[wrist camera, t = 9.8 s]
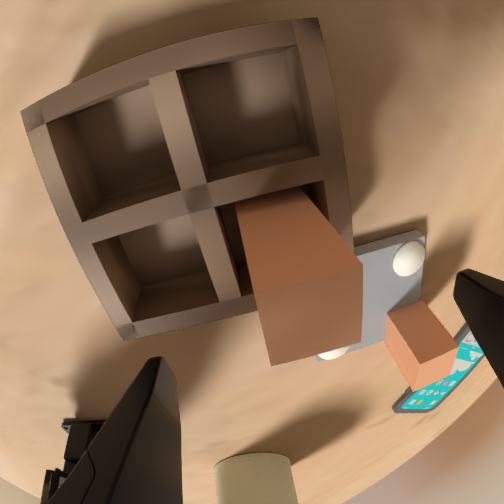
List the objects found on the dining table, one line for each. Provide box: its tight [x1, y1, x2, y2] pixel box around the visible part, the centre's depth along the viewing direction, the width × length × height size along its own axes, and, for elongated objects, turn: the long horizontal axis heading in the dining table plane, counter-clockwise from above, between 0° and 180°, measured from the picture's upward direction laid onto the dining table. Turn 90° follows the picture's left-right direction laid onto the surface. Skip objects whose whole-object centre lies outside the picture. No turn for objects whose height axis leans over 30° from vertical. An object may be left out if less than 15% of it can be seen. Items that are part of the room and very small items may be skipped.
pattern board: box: [315, 229, 459, 392], centre depth 18 cm, size 8×8×6 cm
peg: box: [234, 186, 363, 366], centre depth 12 cm, size 3×3×8 cm
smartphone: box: [392, 323, 485, 413], centre depth 27 cm, size 9×1×15 cm
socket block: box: [20, 17, 354, 340], centre depth 14 cm, size 12×12×4 cm
